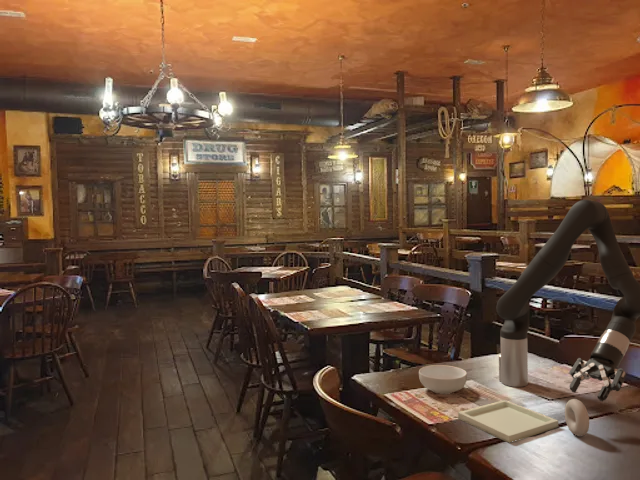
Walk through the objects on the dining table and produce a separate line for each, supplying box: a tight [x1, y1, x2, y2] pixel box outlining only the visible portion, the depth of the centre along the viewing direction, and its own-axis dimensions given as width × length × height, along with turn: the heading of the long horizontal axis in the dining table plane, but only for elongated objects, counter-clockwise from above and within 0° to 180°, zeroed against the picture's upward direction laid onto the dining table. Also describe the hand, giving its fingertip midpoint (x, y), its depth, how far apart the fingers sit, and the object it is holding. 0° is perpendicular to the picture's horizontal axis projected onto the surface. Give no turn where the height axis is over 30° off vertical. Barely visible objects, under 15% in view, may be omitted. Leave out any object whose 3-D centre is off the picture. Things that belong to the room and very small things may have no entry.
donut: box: [564, 398, 590, 437], centre depth 143 cm, size 10×4×10 cm, turn 179°
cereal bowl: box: [418, 364, 468, 395], centre depth 183 cm, size 17×17×7 cm
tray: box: [457, 399, 559, 444], centre depth 153 cm, size 20×20×2 cm
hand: (585, 395), depth 145 cm, fingers open, 8 cm apart
